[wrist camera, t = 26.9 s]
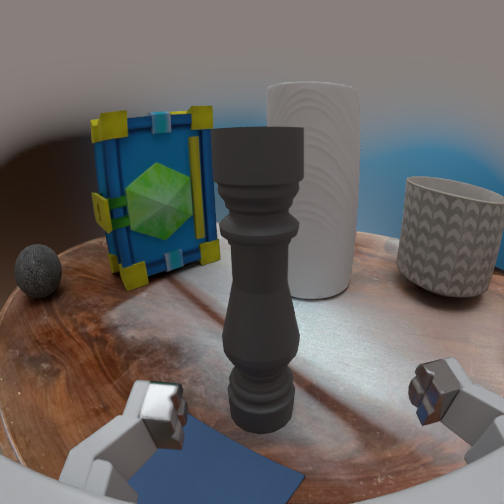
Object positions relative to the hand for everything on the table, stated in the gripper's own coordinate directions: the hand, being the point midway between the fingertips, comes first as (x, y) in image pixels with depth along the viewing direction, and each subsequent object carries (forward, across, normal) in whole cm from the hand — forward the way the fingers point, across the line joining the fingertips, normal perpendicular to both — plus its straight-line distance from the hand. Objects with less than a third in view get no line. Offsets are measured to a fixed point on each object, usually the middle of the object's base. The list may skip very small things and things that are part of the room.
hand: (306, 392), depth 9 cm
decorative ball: (+34, -41, -17) cm, 56 cm away
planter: (+34, +33, -17) cm, 50 cm away
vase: (+39, +8, -17) cm, 43 cm away
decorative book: (+46, -18, -17) cm, 53 cm away
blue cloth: (+3, -7, -17) cm, 19 cm away
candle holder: (+12, -1, -17) cm, 21 cm away
